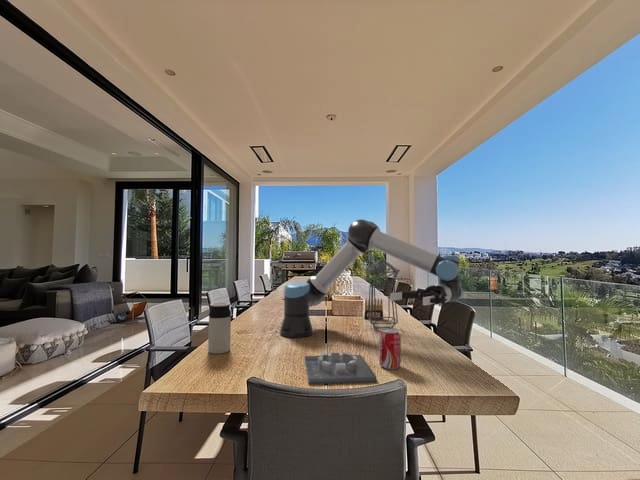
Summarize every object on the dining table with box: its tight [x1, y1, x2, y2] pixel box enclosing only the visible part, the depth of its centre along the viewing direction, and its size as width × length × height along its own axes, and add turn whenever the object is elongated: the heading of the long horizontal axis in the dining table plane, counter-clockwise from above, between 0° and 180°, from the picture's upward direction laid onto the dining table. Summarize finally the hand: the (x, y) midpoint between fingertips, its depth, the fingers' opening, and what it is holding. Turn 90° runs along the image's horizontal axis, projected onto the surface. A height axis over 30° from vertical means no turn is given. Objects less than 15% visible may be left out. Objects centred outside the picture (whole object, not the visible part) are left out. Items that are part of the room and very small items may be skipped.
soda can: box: [378, 327, 402, 370], centre depth 106 cm, size 7×7×12 cm
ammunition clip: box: [363, 297, 384, 320], centre depth 182 cm, size 11×2×12 cm, turn 92°
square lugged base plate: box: [304, 351, 377, 385], centre depth 102 cm, size 20×20×4 cm
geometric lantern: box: [363, 258, 401, 332], centre depth 158 cm, size 16×16×35 cm
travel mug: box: [207, 301, 232, 355], centre depth 121 cm, size 8×8×18 cm
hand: (406, 299), depth 113 cm, fingers open, 13 cm apart
